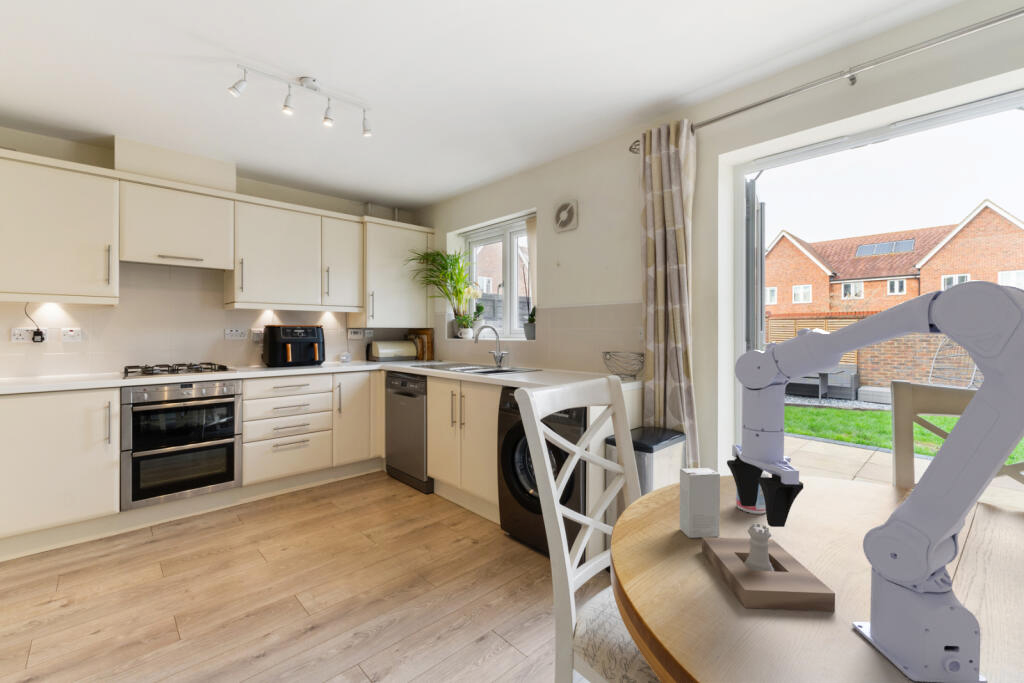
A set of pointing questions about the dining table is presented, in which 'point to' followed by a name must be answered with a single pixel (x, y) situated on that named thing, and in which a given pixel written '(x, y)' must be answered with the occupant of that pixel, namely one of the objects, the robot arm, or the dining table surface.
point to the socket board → (767, 577)
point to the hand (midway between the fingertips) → (761, 515)
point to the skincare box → (699, 502)
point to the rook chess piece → (759, 549)
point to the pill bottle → (760, 503)
